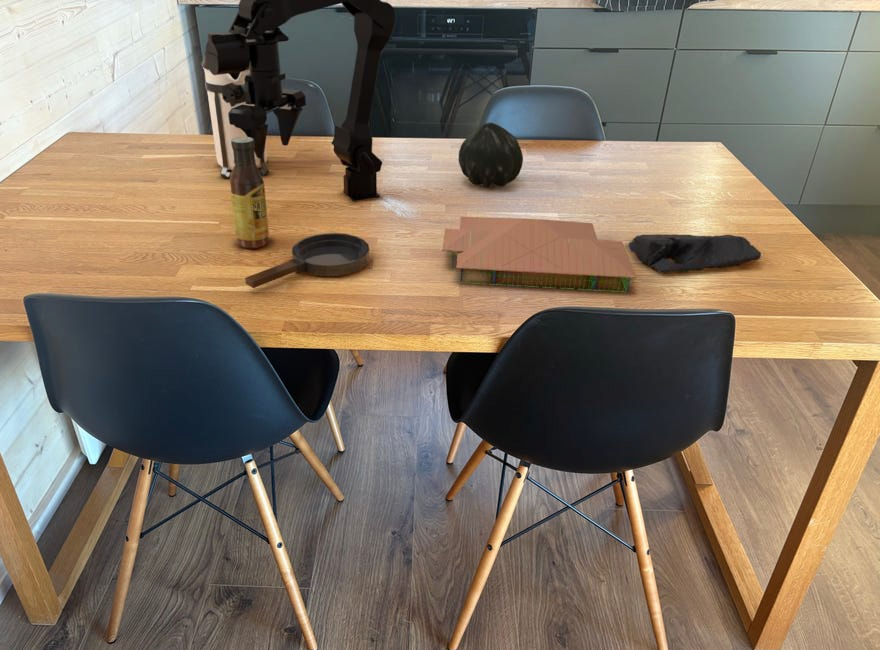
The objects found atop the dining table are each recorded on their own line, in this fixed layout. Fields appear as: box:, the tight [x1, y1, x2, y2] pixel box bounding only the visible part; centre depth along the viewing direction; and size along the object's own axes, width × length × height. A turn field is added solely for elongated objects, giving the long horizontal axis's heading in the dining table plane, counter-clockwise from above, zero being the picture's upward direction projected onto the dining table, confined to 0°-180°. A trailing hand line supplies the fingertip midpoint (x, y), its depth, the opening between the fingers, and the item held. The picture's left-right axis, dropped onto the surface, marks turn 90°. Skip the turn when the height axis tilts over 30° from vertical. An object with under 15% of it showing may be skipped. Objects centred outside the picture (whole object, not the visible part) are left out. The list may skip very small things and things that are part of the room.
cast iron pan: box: [291, 232, 371, 277], centre depth 128 cm, size 14×14×2 cm
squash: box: [458, 122, 524, 188], centre depth 162 cm, size 14×15×15 cm
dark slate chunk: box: [628, 233, 762, 274], centre depth 131 cm, size 15×22×5 cm
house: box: [441, 216, 637, 293], centre depth 128 cm, size 23×33×8 cm
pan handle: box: [244, 258, 306, 289], centre depth 121 cm, size 11×3×2 cm, turn 135°
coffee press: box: [201, 55, 270, 179], centre depth 164 cm, size 17×16×30 cm
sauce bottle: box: [229, 137, 270, 250], centre depth 130 cm, size 6×6×20 cm
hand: (272, 151), depth 140 cm, fingers open, 9 cm apart
